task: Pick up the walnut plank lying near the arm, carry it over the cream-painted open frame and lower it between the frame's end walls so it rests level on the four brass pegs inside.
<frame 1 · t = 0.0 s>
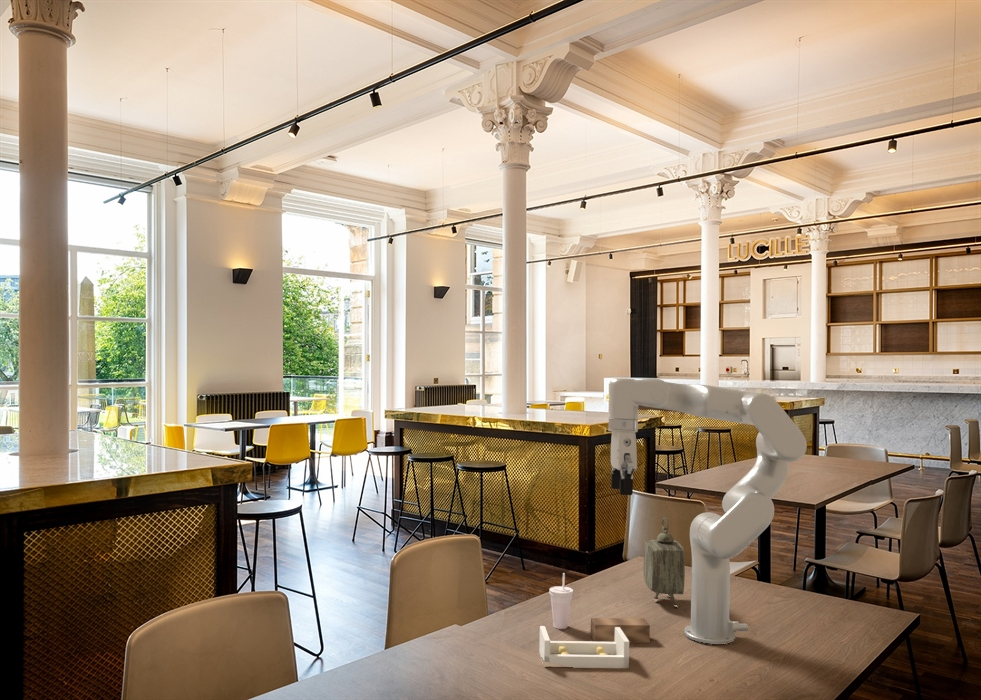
hand: (621, 491, 183), 37 cm above the table, tool pointing down, fingers open, 9 cm apart
frame: (582, 659, 165), on the table
plank: (619, 639, 179), on the table
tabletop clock: (662, 602, 210), on the table
smoothie: (560, 627, 186), on the table
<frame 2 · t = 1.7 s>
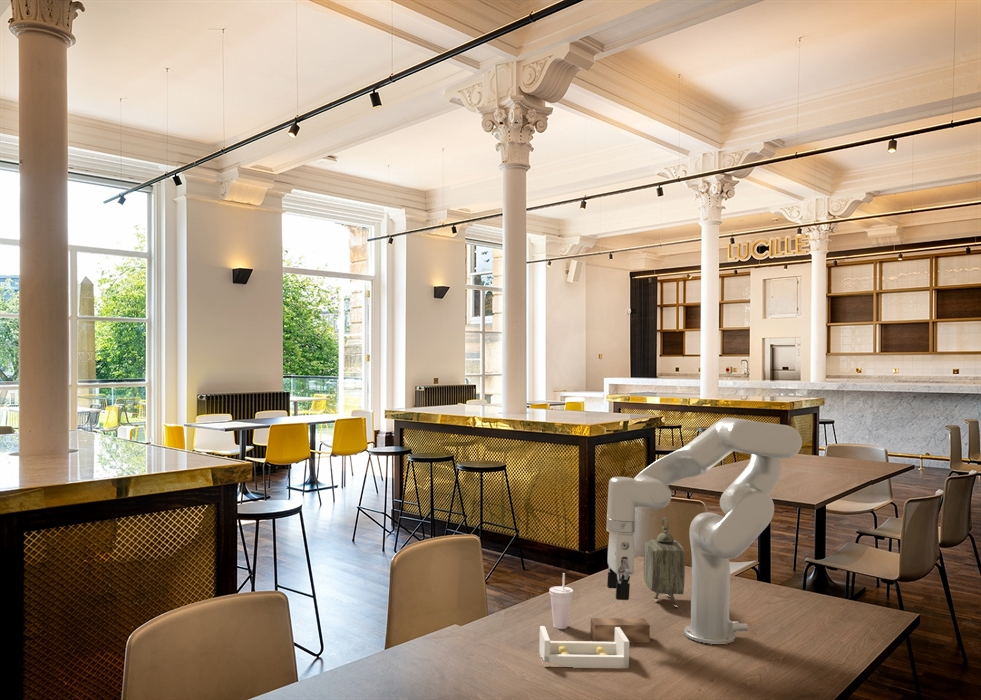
hand: (617, 593, 179), 11 cm above the table, tool pointing down, fingers open, 9 cm apart
nothing on the table moved.
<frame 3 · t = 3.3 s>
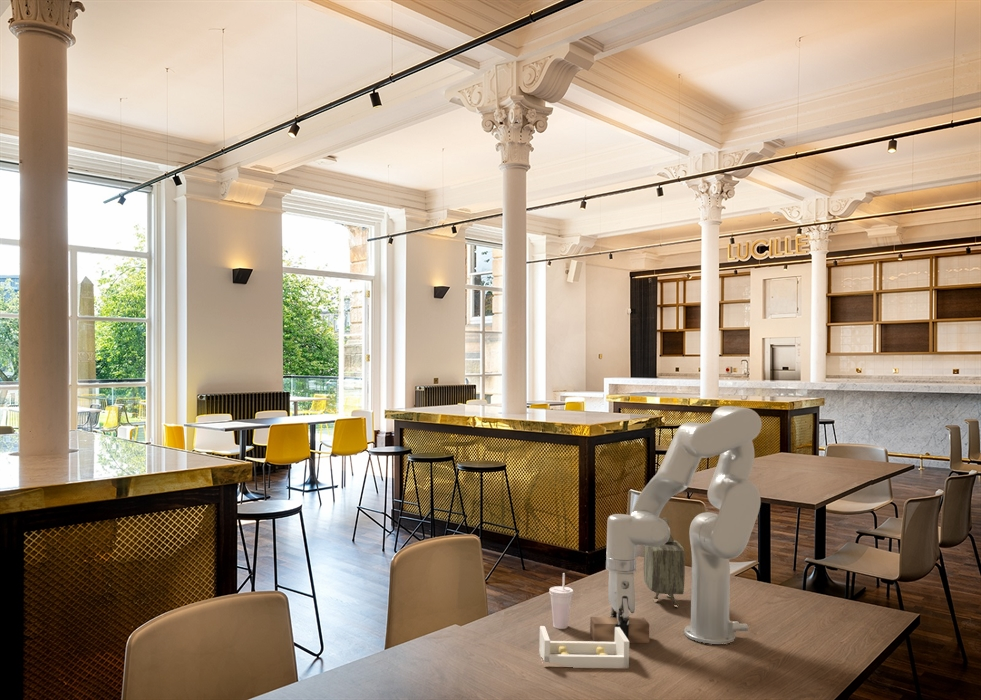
hand: (619, 635, 179), 1 cm above the table, tool pointing down, fingers closed on plank, 5 cm apart
plank: (619, 638, 179), on the table, touching gripper
everything else where it was.
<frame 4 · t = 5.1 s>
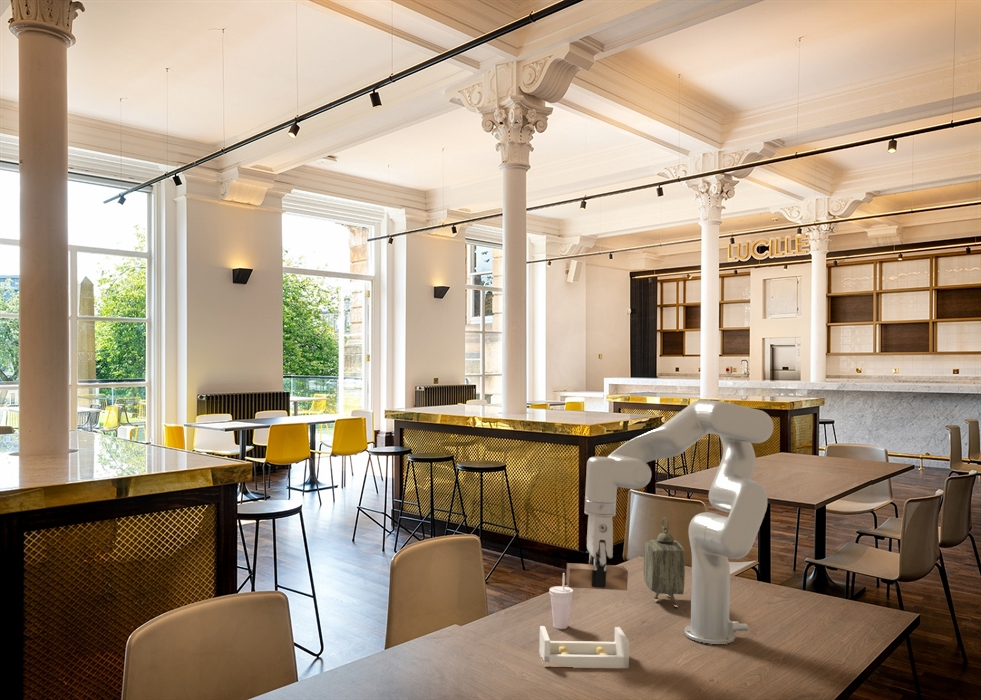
hand: (596, 582, 171), 16 cm above the table, tool pointing down, fingers closed on plank, 5 cm apart
plank: (596, 585, 171), point 16 cm above the table, touching gripper
everything else where it was.
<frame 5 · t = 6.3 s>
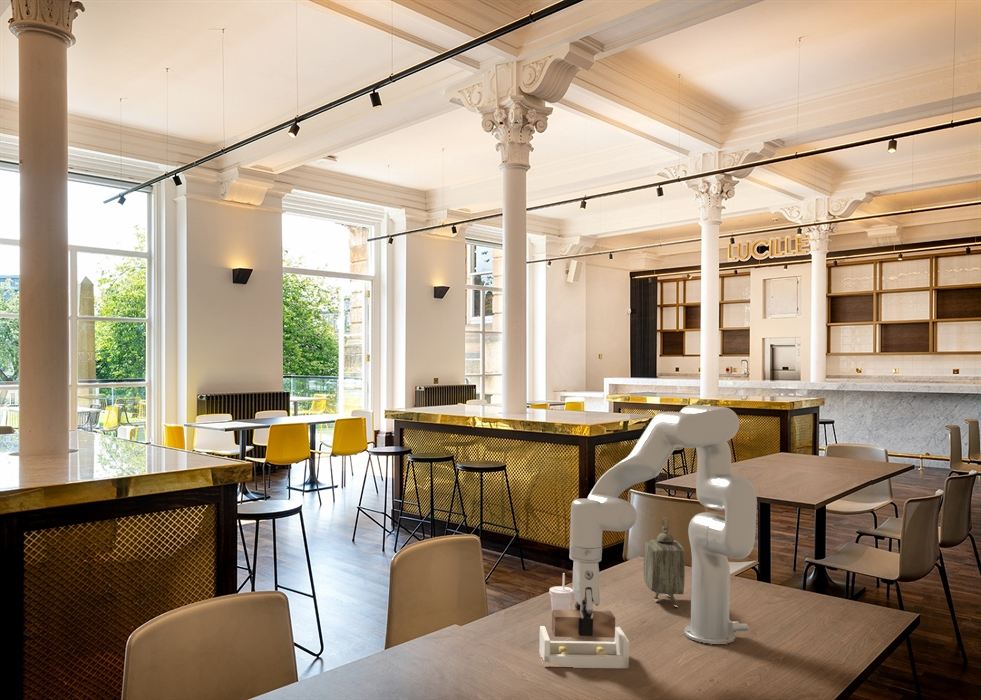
hand: (583, 630, 165), 7 cm above the table, tool pointing down, fingers closed on plank, 5 cm apart
plank: (582, 633, 165), point 6 cm above the table, touching gripper
everything else where it was.
when the fingers open (3 cm above the table, at t = 7.3 s): plank stays where it is, resting on frame.
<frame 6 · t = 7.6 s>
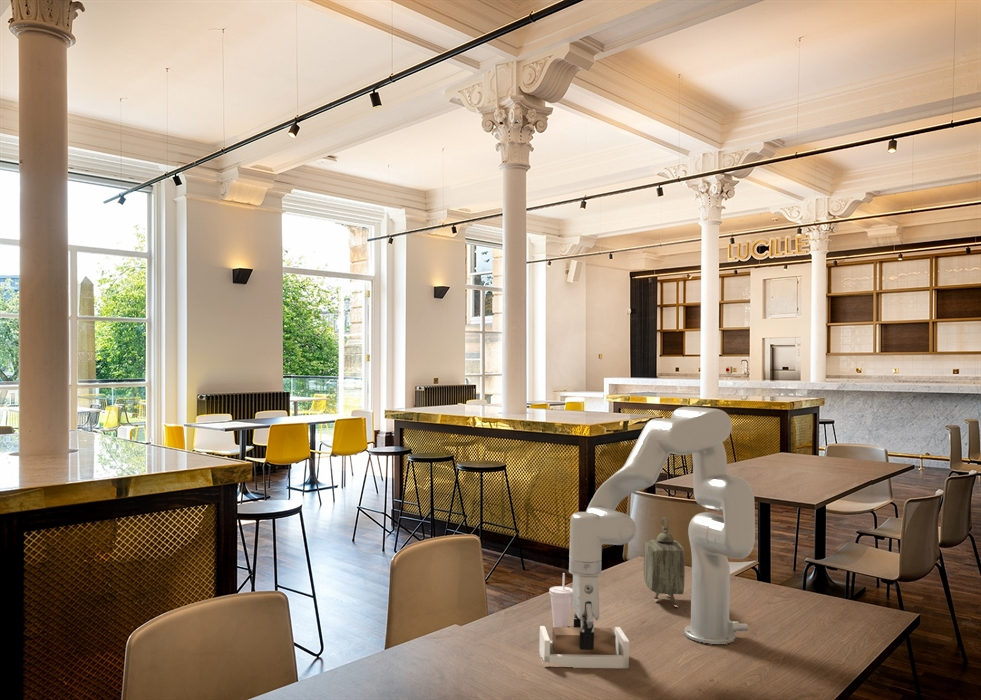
hand: (583, 642, 165), 4 cm above the table, tool pointing down, fingers open, 7 cm apart
plank: (583, 650, 165), point 2 cm above the table, touching frame
everything else where it was.
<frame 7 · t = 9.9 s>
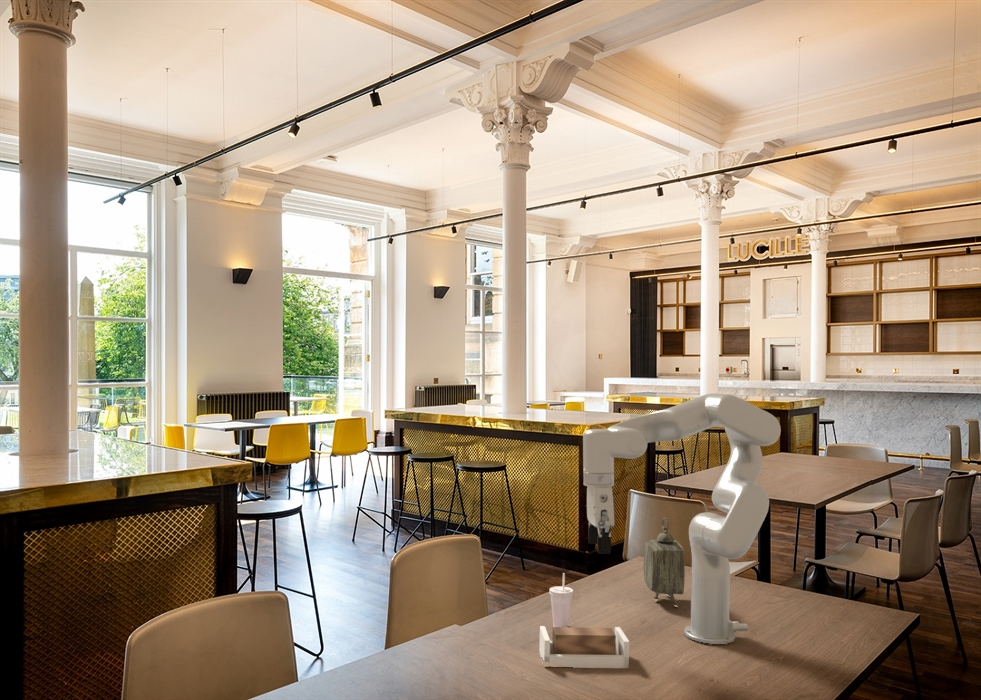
hand: (599, 548, 175), 24 cm above the table, tool pointing down, fingers open, 9 cm apart
nothing on the table moved.
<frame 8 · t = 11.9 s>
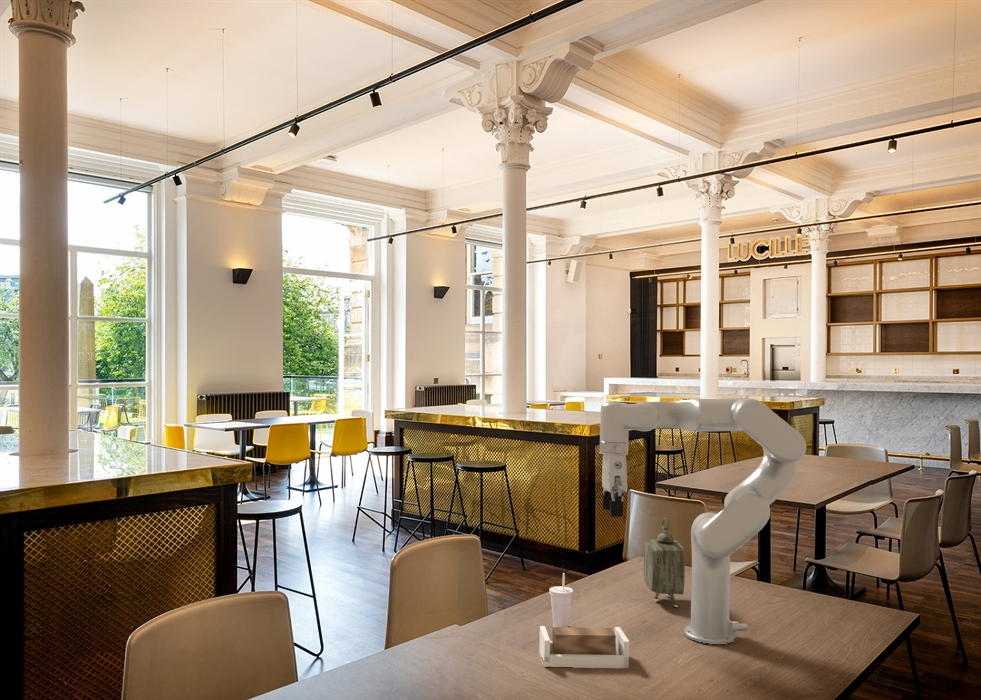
hand: (612, 513, 187), 30 cm above the table, tool pointing down, fingers open, 9 cm apart
nothing on the table moved.
at the end: plank 0.1 cm off-centre on the frame, point 2.0 cm above the frame's base; plank tilted 0°; the gripper is holding nothing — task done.
